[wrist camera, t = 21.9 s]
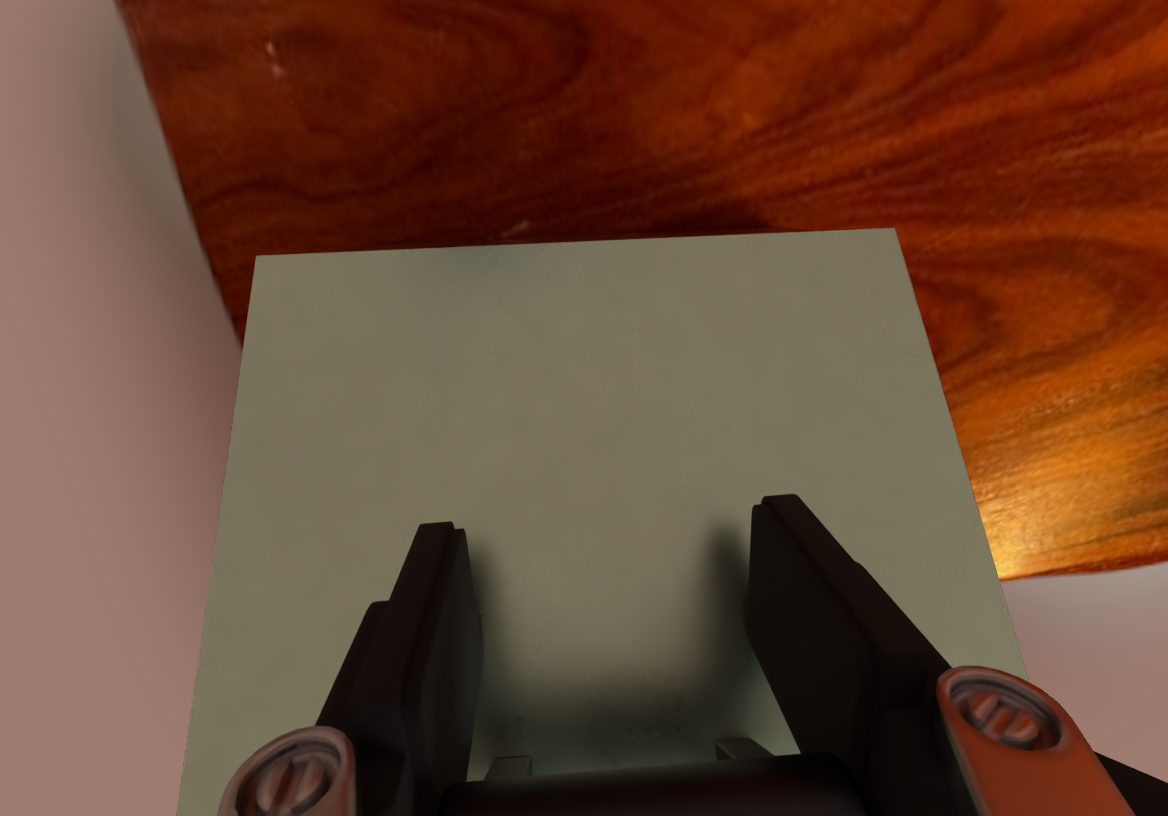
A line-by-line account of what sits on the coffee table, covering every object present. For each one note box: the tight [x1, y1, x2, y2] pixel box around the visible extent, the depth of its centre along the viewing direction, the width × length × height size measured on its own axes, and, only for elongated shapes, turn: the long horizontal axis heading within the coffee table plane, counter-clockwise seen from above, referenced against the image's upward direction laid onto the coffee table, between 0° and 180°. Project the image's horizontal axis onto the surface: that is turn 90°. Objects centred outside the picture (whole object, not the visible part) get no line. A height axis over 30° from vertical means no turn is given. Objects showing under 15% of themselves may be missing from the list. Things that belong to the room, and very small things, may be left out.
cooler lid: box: [176, 227, 1029, 816], centre depth 10 cm, size 14×16×5 cm
